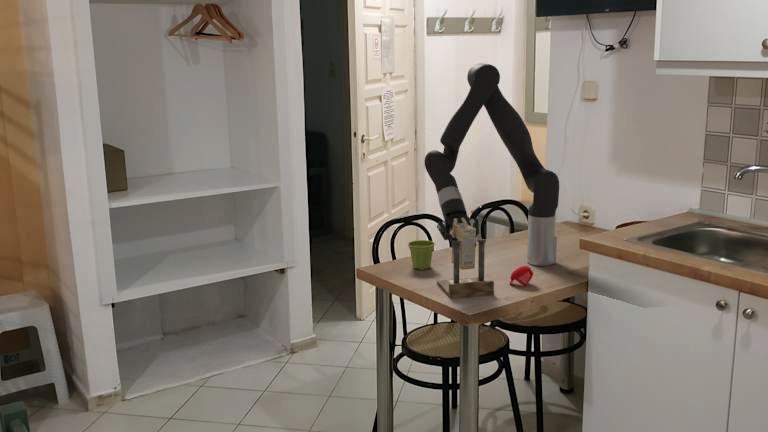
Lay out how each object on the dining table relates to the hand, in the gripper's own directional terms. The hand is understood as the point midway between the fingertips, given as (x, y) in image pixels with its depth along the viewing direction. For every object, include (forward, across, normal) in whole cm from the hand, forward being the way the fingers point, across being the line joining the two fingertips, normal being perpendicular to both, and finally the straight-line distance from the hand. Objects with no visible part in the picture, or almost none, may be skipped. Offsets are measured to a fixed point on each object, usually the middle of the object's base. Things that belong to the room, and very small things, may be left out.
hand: (465, 249), depth 235 cm
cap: (+10, +19, +9) cm, 23 cm away
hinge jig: (+9, 0, +10) cm, 13 cm away
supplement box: (+3, 0, +6) cm, 6 cm away
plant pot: (-10, -4, +30) cm, 32 cm away
